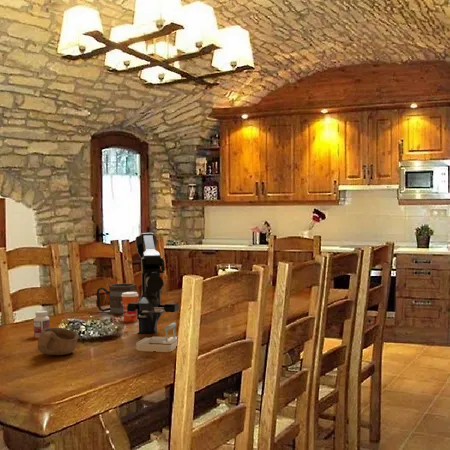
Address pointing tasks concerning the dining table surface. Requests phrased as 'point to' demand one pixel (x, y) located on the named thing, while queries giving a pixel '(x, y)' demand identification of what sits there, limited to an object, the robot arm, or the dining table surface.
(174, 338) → the grey lever handle
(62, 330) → the bowl
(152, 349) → the beige square tray
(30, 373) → the dining table surface
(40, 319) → the pill bottle
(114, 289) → the mug
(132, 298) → the paper cup
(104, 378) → the dining table surface
